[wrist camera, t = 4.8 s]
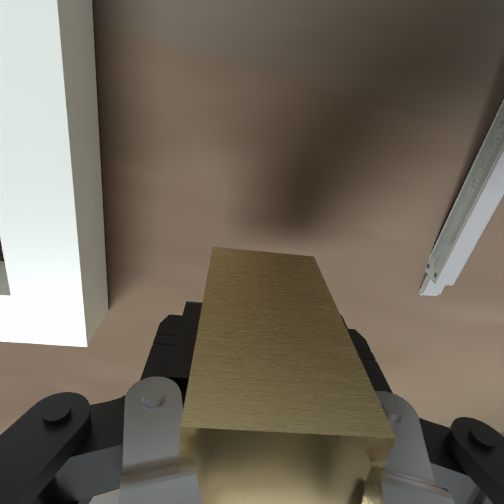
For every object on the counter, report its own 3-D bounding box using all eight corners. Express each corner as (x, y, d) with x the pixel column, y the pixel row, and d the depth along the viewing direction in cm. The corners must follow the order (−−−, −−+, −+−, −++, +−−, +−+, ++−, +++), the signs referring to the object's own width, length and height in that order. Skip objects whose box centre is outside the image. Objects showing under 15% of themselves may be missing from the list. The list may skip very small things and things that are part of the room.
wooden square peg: (313, 256, 14) (395, 438, 6) (296, 337, 15) (347, 555, 8) (212, 246, 13) (180, 426, 6) (206, 330, 15) (174, 551, 8)
